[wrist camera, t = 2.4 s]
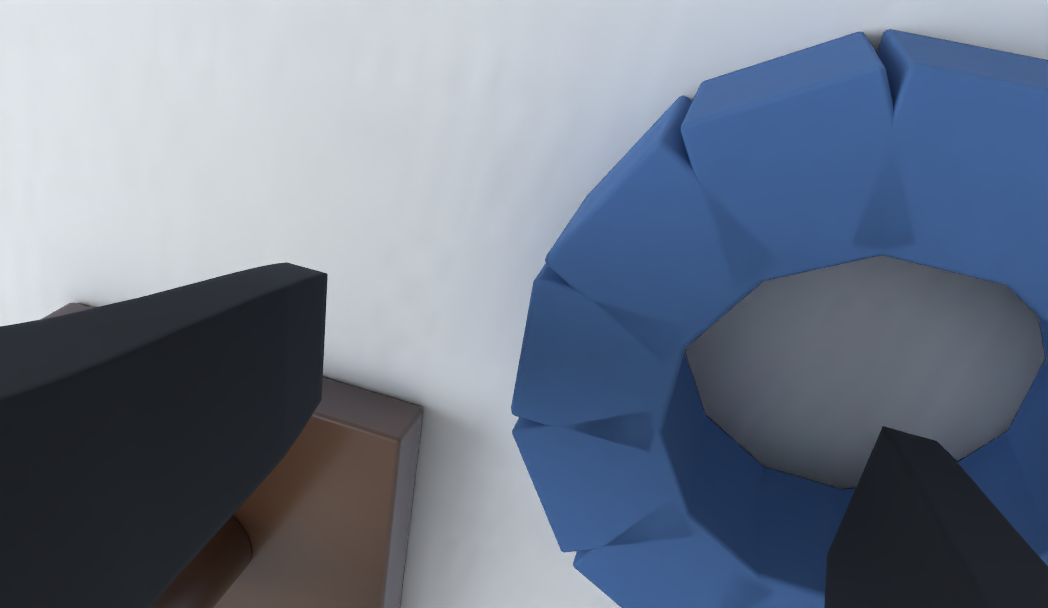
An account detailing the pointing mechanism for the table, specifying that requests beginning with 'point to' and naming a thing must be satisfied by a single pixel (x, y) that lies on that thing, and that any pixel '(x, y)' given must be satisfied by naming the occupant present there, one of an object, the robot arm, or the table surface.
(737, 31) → the table surface
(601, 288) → the ring
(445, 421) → the table surface
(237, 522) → the peg stand
